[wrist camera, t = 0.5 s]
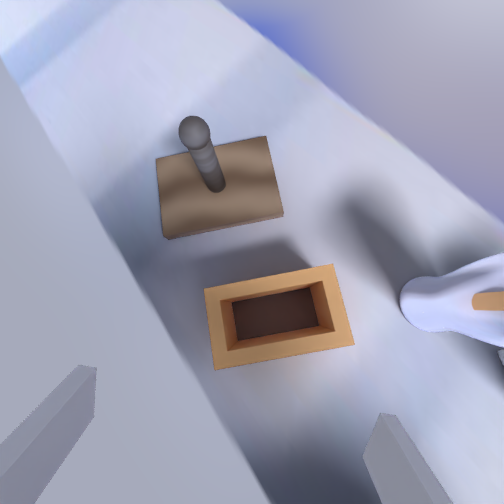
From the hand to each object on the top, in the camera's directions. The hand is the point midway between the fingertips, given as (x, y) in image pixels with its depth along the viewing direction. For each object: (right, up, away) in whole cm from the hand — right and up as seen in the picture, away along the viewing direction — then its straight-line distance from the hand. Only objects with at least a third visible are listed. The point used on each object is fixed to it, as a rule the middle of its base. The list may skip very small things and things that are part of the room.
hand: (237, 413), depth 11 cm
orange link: (+3, 0, +17) cm, 17 cm away
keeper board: (-4, +16, +21) cm, 26 cm away
